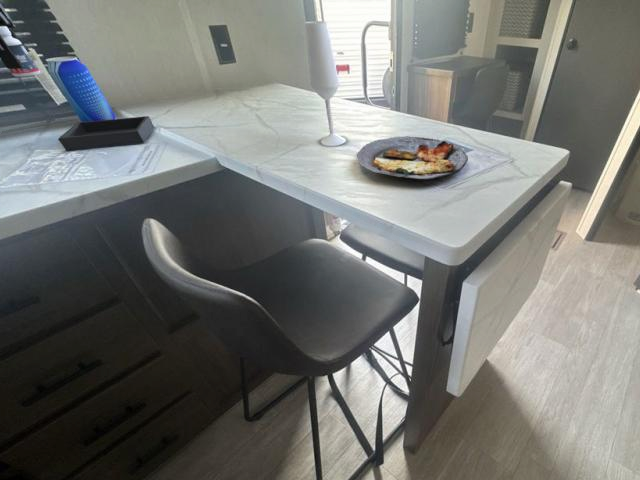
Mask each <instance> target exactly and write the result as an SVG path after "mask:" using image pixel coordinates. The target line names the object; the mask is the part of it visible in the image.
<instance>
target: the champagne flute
mask: <svg viewBox="0 0 640 480" xmlns="http://www.w3.org/2000/svg"><path fill="white" fill-rule="evenodd" d="M304 28H305V40H306V51H307V60H308V71H309V80H310V81H309V82H310V86H311V88H312V89H313V91H314V92H315V94H317V95H318V96H319V97H320V98H321V99H323V100H324V102H325V109H326V116H327V122H328V129H329V134H328V135H326V136H325V137H324V138H323V139H321V141H320V143H321V145H323V146H326V147H327V146H328V147H335V146H336V147H337V146H340V145H343V144H345V143H346V142H347V140H346V138H345V137H342V136H340V135H338V134H336V133H335V127H334V121H333V119H334V118H333V112H332V107H331V99H332V98H333V97H335V95H336V93H337V91H338V89H339V86H340V81H339V75H338V70H337V66H336V60H335V55H334V50H333V45H332V40H331V34H330V29H329V24H328V21H324V20H316V21H313V20H312V21H305V22H304Z"/></svg>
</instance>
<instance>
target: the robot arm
mask: <svg viewBox="0 0 640 480" xmlns="http://www.w3.org/2000/svg"><path fill="white" fill-rule="evenodd" d="M0 26H6V27H7V28H8V29H9V31H10V32H11V36H12V37H13V38H15V39H17V40H19V41H20V42H21V40H20V39H19V38H18V36H17V34H16V33H15V31H14V30H13V29H17V28H16V24H15V23H14V21H13V19H12V18H11V16H10V15H9V14H8V12H7V11H6V9H5V8H4V5H2V3H1V2H0ZM30 57H31V55H30ZM31 58H32V57H31ZM0 60H1V62H2V63H3V65H4V66H5V67H6V69H8V70H9V69H15V68H23V66H22V65H21V63H20V62H19V61H18V59H17V58H16V56H15V55H14V53H13V52H12V51H11V49H10V48H9V46H8V45H7V44H6V42H5V41H4V39H3V38H2V37H1V35H0ZM32 60H33V61H34V59H33V58H32ZM34 63H35V64H36V62H35V61H34Z"/></svg>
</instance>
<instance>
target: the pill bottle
mask: <svg viewBox="0 0 640 480" xmlns="http://www.w3.org/2000/svg"><path fill="white" fill-rule="evenodd" d="M0 35H1V37H2V38H3V39H4V41H5V42H6V44H7V45H8V46H9V48H10V49H11V51H12V52H13V53H14V55H15V56H16V58H17V59H18V61H19V62H20V63H21V65H22V66H23V68H15V69H8V70H9V72H10V73H11V74H12V76H14V77H19V78H21V77H22V78H23V77H31V76H32V77H33V76H38V75H40V74H41V73H42V72H41V70H40V68H39V66H38V65H37V64H36V62H35V61H34V59H33V58H32V57H30V56H31V55H30V53H29V52H28V51H27V49H26V48H25V46H24V45H23V43H22V42H21V40H20V39H19V40H20V41H19V40H17V39H15V38H13V37H12V36H11V32H10V31H9V29H8V28H7V27H6V26H0ZM32 59H33V60H32ZM34 62H35V63H34Z"/></svg>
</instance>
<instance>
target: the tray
mask: <svg viewBox="0 0 640 480" xmlns="http://www.w3.org/2000/svg"><path fill="white" fill-rule="evenodd" d="M152 123H153V120H151V118H150V116H149V115H146V116H135V117H123V118H116V119H110V120H99V121H87V122H81V121H78V122H76V123H75V124H73V126H71V127H70V128H69V129H68V130H66V131H65V132H64V133H63V134H61V136H59V137H57V140H58V142H59V143H60V144H61V146H62V147H63V148H64V149H65V151H66V152H70V151H71V152H72V151H73V152H74V151H82V150H90V149H92V150H93V149H101V148H110V147H111V148H113V147H118V146H119V147H121V146H129V145H141V144H145V143H146V141H147V140H148V138H149V137H150V136H151V134H152V132H153V131H154V129H155V128H156V127H155V125H154V123H153V124H152Z"/></svg>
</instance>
